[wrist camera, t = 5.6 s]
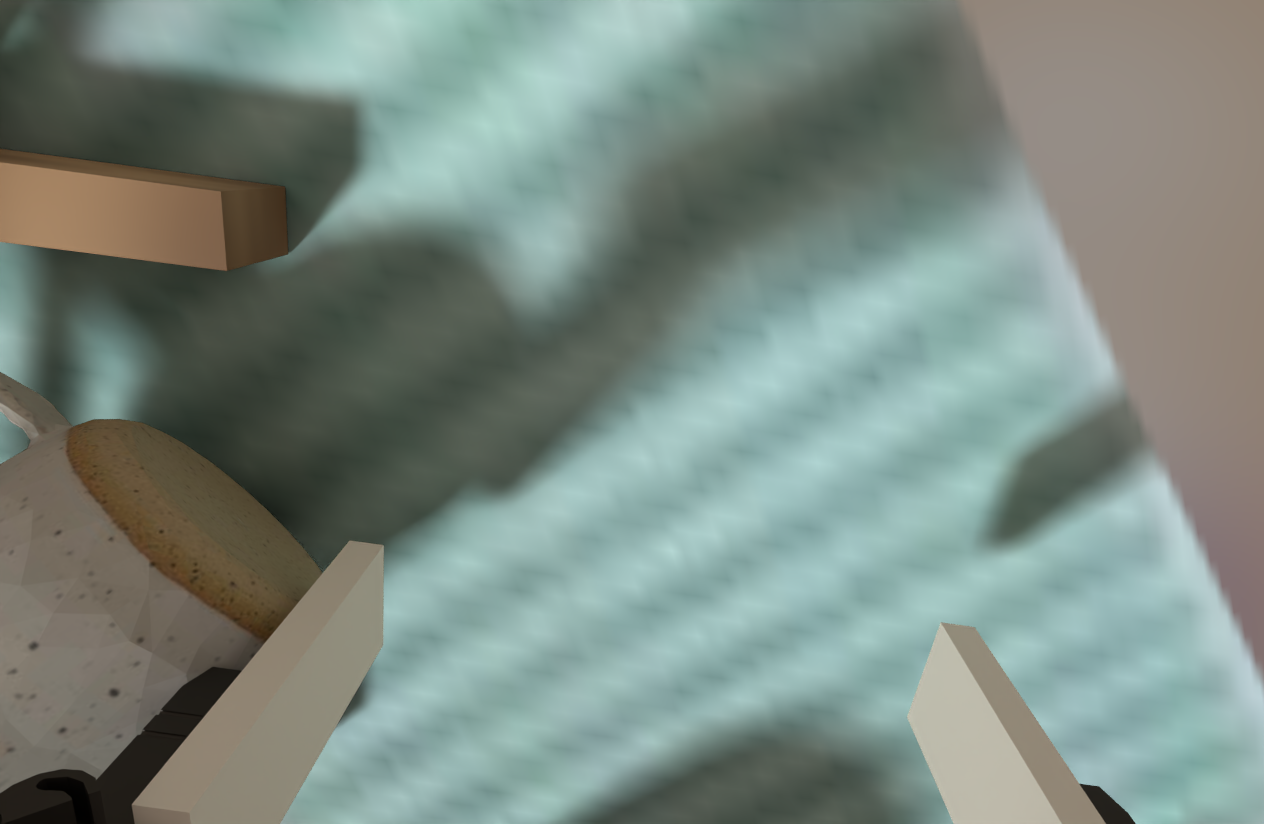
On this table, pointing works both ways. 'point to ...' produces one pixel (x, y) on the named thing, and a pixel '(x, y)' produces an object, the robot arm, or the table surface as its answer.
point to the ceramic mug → (122, 583)
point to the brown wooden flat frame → (139, 212)
